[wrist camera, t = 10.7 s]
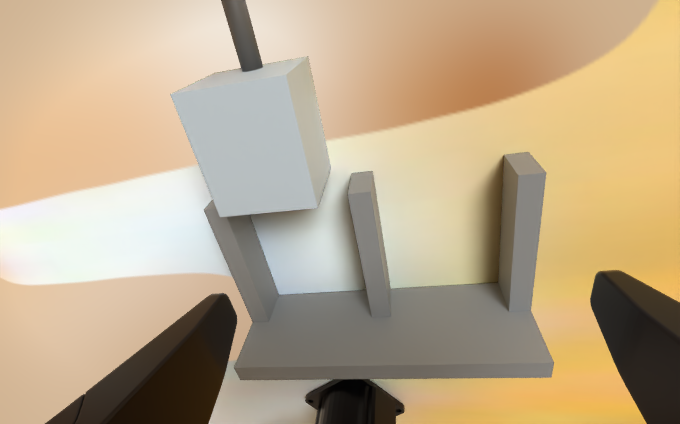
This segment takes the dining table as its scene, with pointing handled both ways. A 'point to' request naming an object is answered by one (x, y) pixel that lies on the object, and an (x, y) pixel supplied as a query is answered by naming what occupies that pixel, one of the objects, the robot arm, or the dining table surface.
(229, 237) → the lane rack
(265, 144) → the orange knob joystick
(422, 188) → the dining table surface
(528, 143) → the dining table surface
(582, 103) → the dining table surface
